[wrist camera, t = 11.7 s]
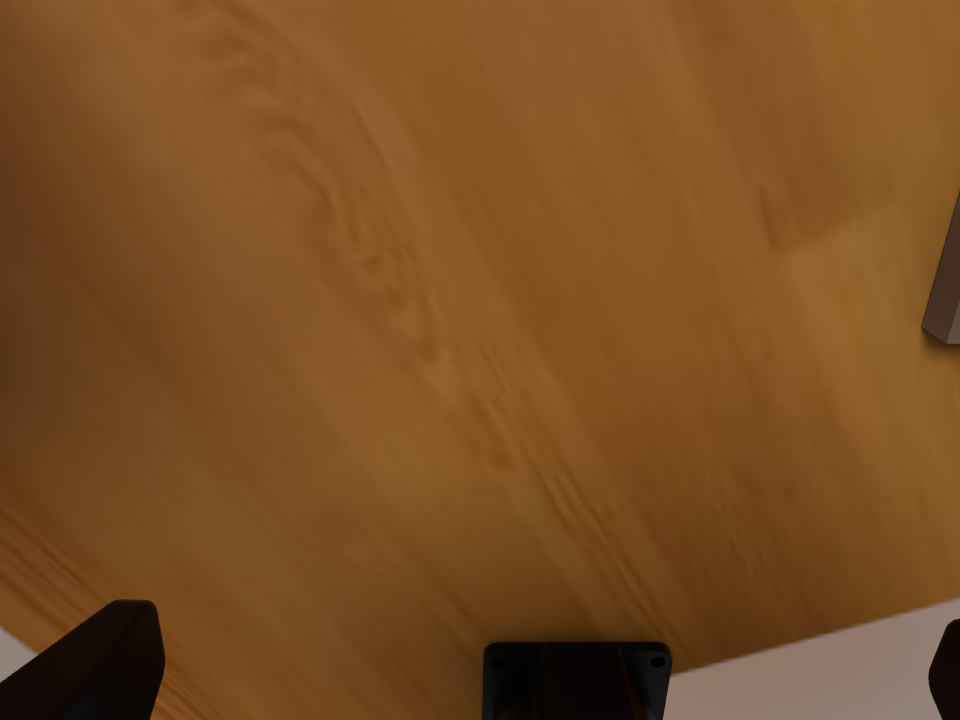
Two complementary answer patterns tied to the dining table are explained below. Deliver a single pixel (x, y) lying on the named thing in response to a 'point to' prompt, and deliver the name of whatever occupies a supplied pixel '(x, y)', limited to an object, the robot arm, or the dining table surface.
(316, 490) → the dining table surface
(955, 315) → the socket board
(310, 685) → the dining table surface
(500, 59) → the dining table surface
